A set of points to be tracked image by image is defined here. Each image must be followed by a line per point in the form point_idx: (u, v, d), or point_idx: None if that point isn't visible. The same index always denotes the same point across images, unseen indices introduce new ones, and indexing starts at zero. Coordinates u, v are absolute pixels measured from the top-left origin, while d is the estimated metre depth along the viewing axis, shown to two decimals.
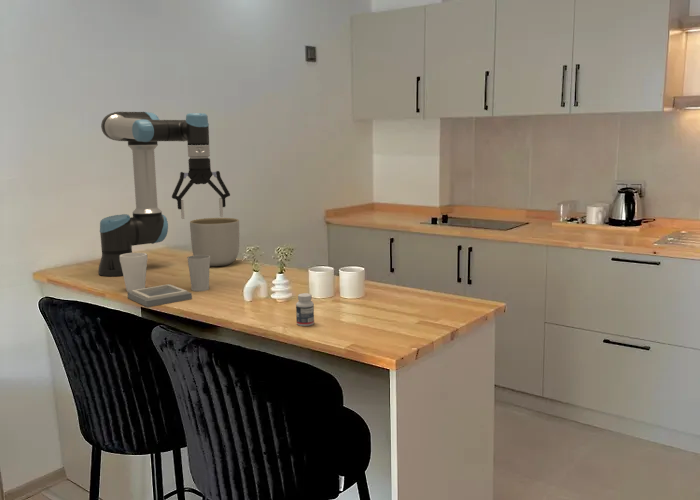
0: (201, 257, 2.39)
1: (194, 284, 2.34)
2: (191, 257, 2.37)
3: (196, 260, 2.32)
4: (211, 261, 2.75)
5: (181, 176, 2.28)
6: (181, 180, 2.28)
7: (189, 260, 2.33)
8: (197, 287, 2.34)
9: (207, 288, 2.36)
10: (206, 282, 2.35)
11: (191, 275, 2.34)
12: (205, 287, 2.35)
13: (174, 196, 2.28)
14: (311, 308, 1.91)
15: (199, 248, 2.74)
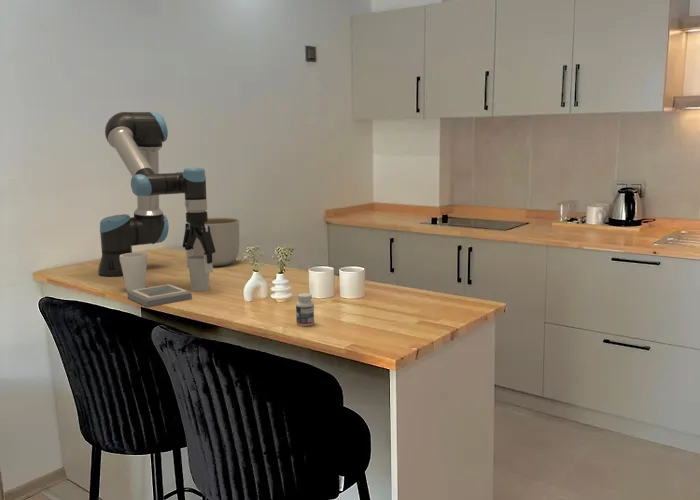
0: (201, 257, 2.39)
1: (194, 284, 2.34)
2: (191, 257, 2.37)
3: (196, 260, 2.32)
4: None
5: (185, 227, 2.38)
6: (185, 231, 2.38)
7: (189, 260, 2.33)
8: (197, 287, 2.34)
9: (207, 288, 2.36)
10: (206, 282, 2.35)
11: (191, 275, 2.34)
12: (205, 287, 2.35)
13: (183, 245, 2.41)
14: (311, 308, 1.91)
15: (199, 248, 2.74)
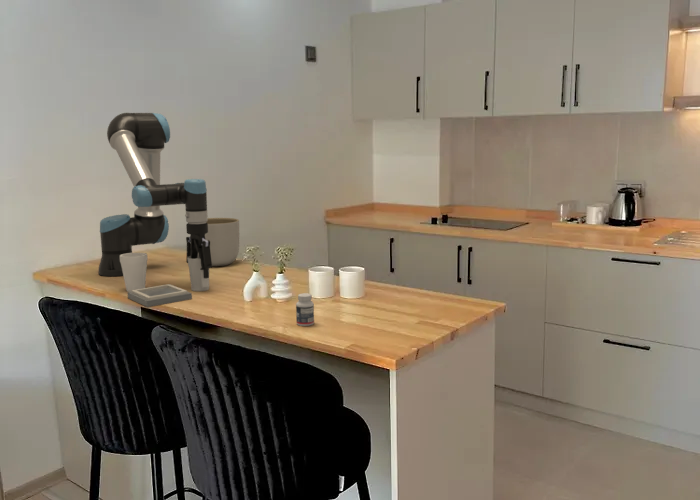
0: None
1: (194, 284, 2.34)
2: None
3: (196, 260, 2.32)
4: None
5: (186, 241, 2.38)
6: (187, 245, 2.38)
7: (189, 260, 2.33)
8: (197, 287, 2.34)
9: (207, 288, 2.36)
10: None
11: (191, 275, 2.34)
12: (205, 287, 2.35)
13: (187, 261, 2.40)
14: (311, 308, 1.91)
15: None
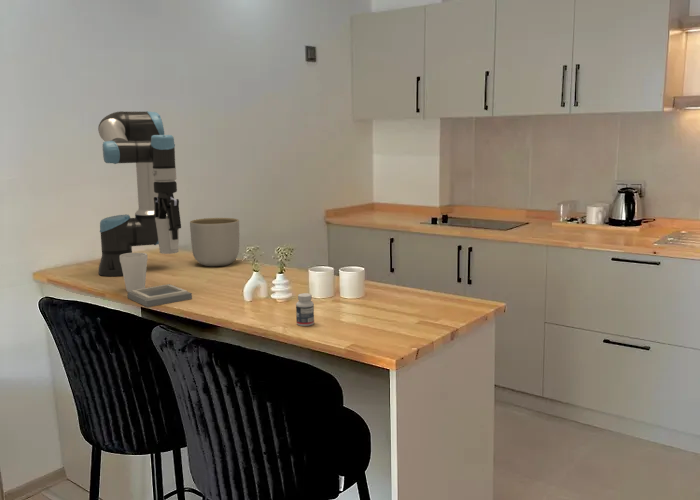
0: None
1: (162, 246, 2.22)
2: None
3: (164, 220, 2.19)
4: (211, 261, 2.75)
5: (154, 201, 2.26)
6: (155, 205, 2.26)
7: (157, 220, 2.20)
8: (166, 249, 2.22)
9: (176, 251, 2.24)
10: None
11: (159, 237, 2.22)
12: (174, 249, 2.23)
13: (155, 222, 2.27)
14: (311, 308, 1.91)
15: (199, 248, 2.74)
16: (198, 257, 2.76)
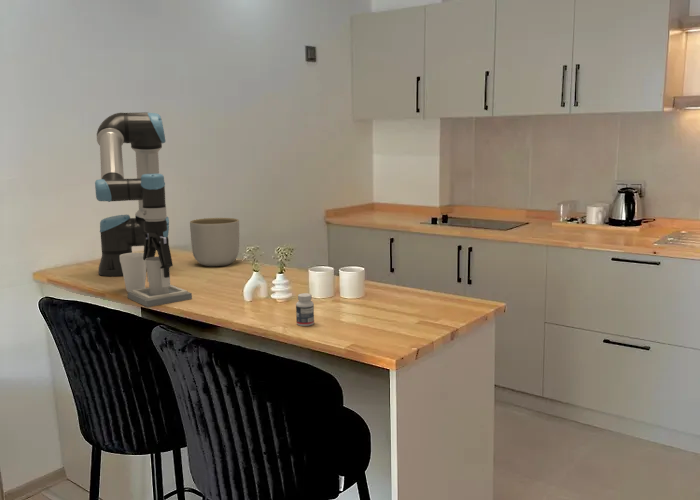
0: None
1: (152, 287, 2.21)
2: (150, 259, 2.24)
3: (154, 262, 2.18)
4: (211, 261, 2.75)
5: (144, 238, 2.25)
6: (145, 242, 2.25)
7: (147, 262, 2.19)
8: (155, 290, 2.21)
9: (166, 292, 2.23)
10: None
11: (149, 278, 2.21)
12: (164, 290, 2.22)
13: (143, 257, 2.27)
14: (311, 308, 1.91)
15: (199, 248, 2.74)
16: (198, 257, 2.76)
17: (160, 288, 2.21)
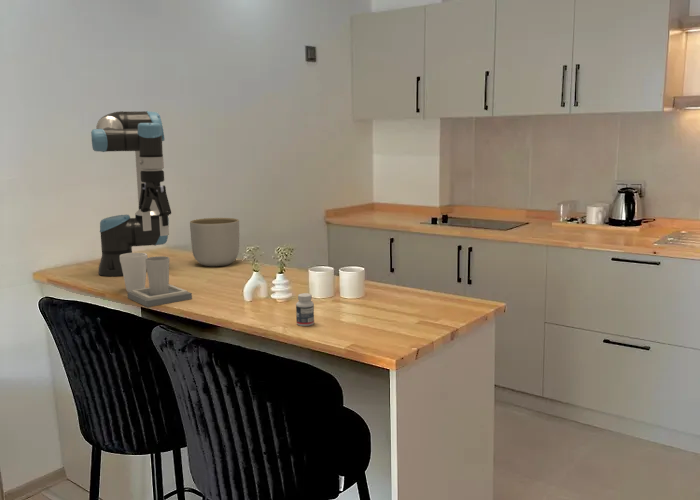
0: (161, 259, 2.26)
1: (152, 287, 2.21)
2: (150, 259, 2.24)
3: (154, 262, 2.18)
4: (211, 261, 2.75)
5: (141, 187, 2.22)
6: (141, 191, 2.22)
7: (147, 262, 2.19)
8: (155, 290, 2.21)
9: (166, 292, 2.23)
10: (165, 285, 2.22)
11: (149, 278, 2.21)
12: (164, 290, 2.22)
13: (139, 207, 2.25)
14: (311, 308, 1.91)
15: (199, 248, 2.74)
16: (198, 257, 2.76)
17: (160, 288, 2.21)
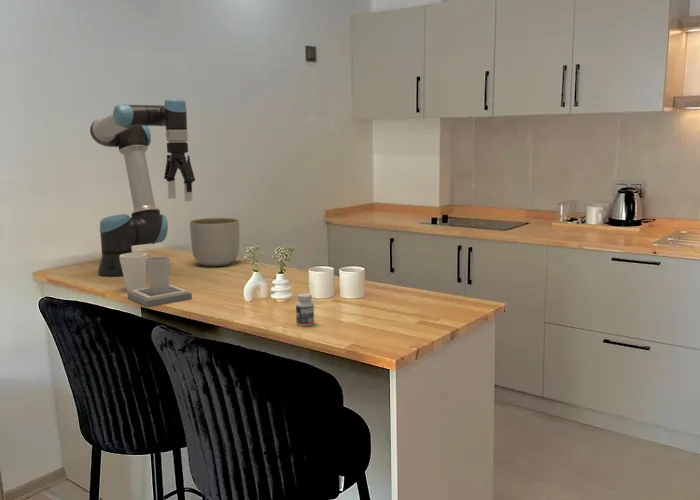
0: (160, 259, 2.26)
1: (152, 287, 2.21)
2: (150, 259, 2.24)
3: (154, 262, 2.18)
4: (211, 261, 2.75)
5: (167, 158, 2.44)
6: (167, 162, 2.45)
7: (147, 262, 2.19)
8: (155, 290, 2.21)
9: (166, 292, 2.23)
10: (165, 285, 2.22)
11: (149, 278, 2.21)
12: (164, 290, 2.22)
13: (164, 177, 2.48)
14: (311, 308, 1.91)
15: (199, 248, 2.74)
16: (198, 257, 2.76)
17: (160, 288, 2.21)
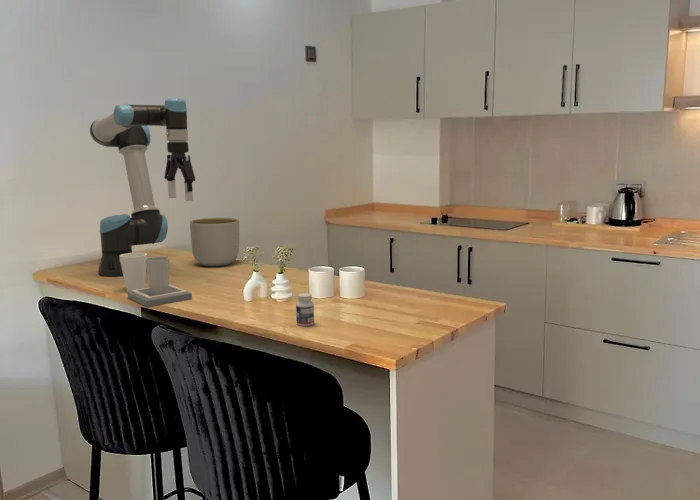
0: (160, 259, 2.26)
1: (152, 287, 2.21)
2: (150, 259, 2.24)
3: (154, 262, 2.18)
4: (211, 261, 2.75)
5: (167, 158, 2.45)
6: (167, 162, 2.45)
7: (147, 262, 2.19)
8: (155, 290, 2.21)
9: (166, 292, 2.23)
10: (165, 285, 2.22)
11: (149, 278, 2.21)
12: (164, 290, 2.22)
13: (165, 176, 2.48)
14: (311, 308, 1.91)
15: (199, 248, 2.74)
16: (198, 257, 2.76)
17: (160, 288, 2.21)
